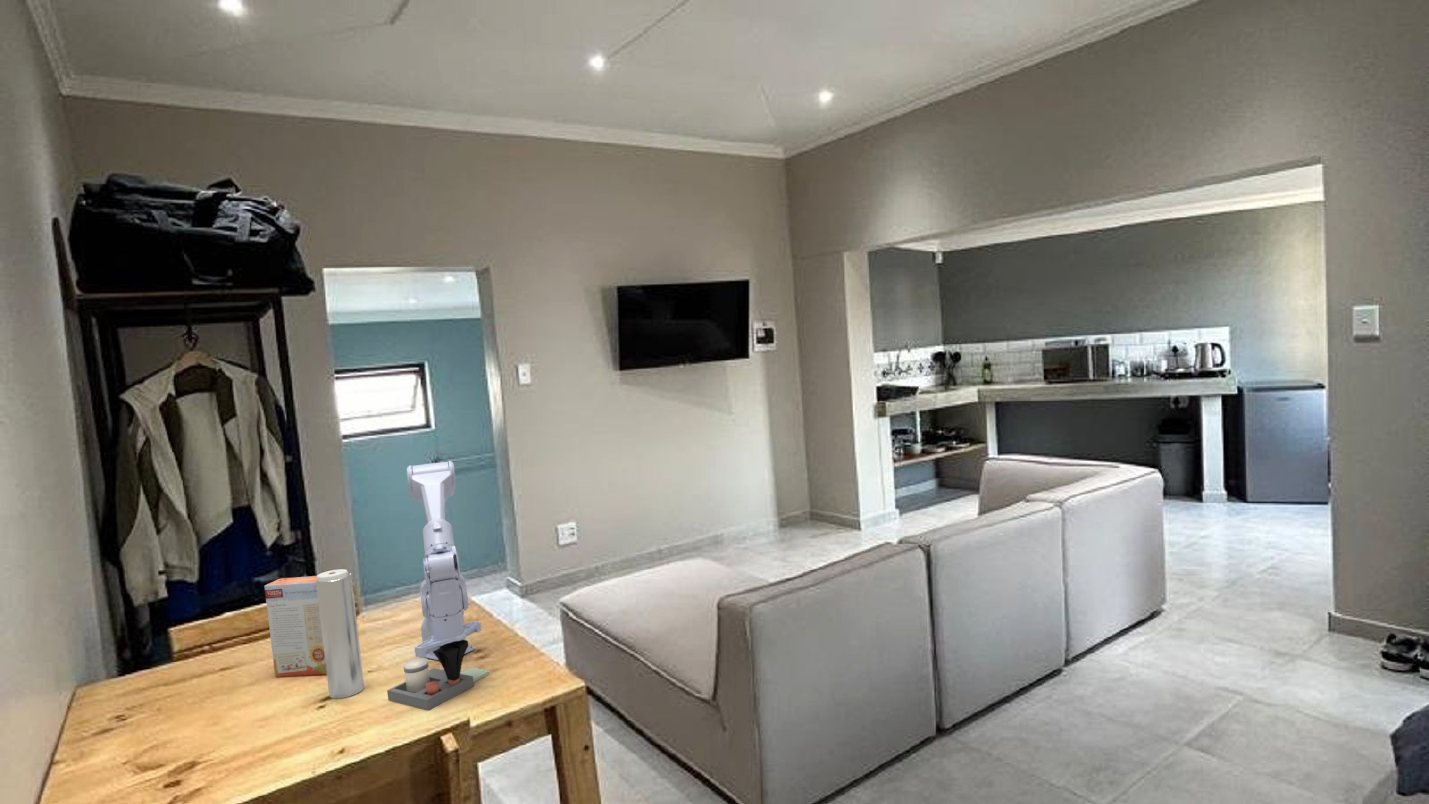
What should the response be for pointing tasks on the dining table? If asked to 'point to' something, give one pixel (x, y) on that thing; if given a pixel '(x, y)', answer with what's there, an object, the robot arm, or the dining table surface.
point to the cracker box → (295, 627)
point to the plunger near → (432, 688)
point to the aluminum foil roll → (339, 633)
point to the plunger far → (453, 681)
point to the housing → (429, 701)
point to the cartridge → (416, 674)
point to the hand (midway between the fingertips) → (453, 678)
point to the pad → (475, 673)
